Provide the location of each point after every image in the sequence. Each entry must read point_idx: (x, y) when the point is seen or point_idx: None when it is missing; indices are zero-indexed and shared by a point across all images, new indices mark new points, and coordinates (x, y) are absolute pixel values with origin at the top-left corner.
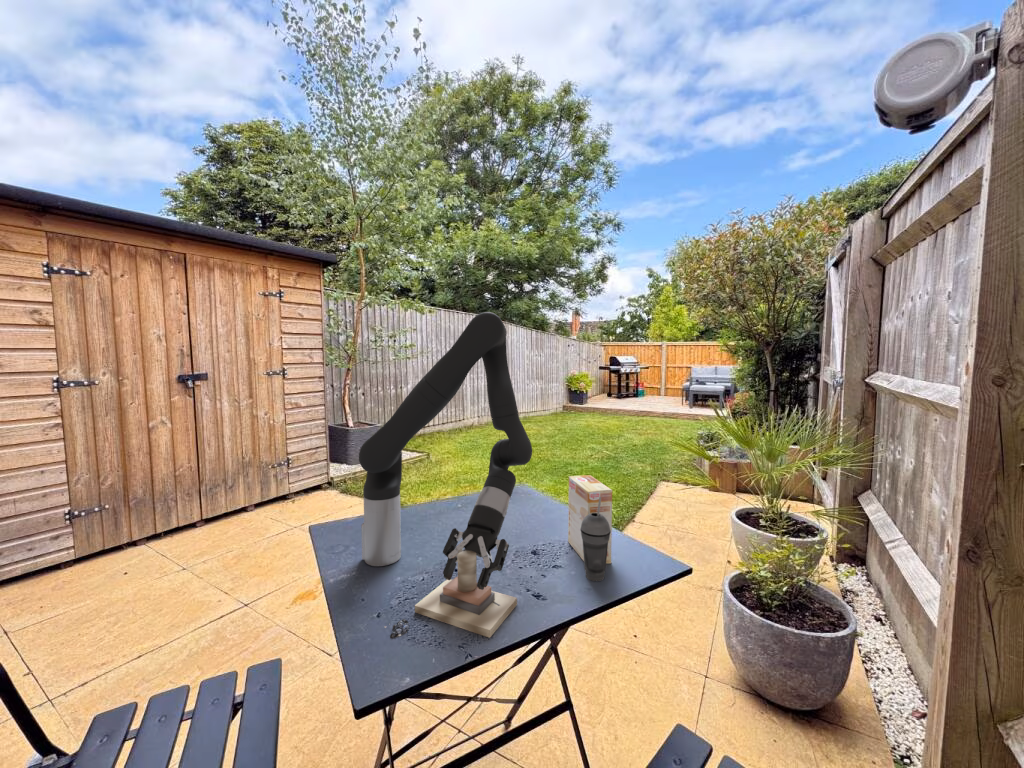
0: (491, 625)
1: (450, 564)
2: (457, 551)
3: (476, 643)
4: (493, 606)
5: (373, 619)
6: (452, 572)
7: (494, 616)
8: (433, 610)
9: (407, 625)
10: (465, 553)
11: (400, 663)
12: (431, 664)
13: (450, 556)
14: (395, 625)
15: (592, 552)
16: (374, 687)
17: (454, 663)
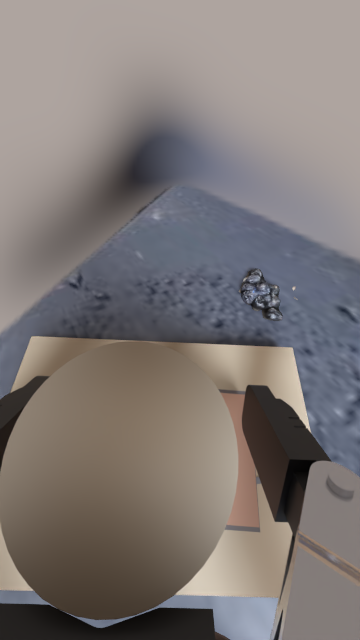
0: (30, 356)
1: (275, 428)
2: (316, 547)
3: (71, 317)
4: None
5: (339, 297)
6: (254, 452)
7: None
8: (227, 349)
9: (250, 297)
10: (158, 475)
11: (189, 233)
12: (137, 246)
13: (331, 469)
14: (272, 285)
15: None
16: (191, 197)
17: (97, 260)
